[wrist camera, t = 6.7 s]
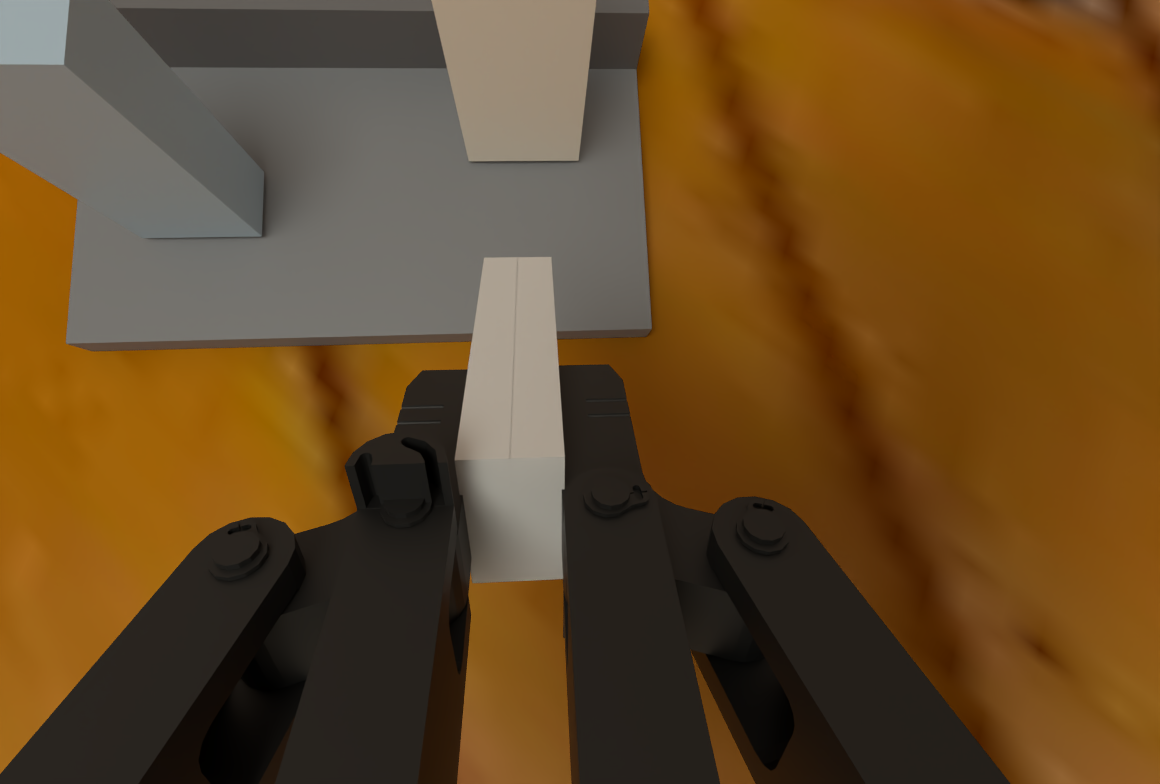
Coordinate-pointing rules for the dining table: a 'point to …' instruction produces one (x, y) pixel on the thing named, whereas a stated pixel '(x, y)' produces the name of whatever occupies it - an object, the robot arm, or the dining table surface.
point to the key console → (368, 189)
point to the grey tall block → (118, 124)
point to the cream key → (518, 75)
